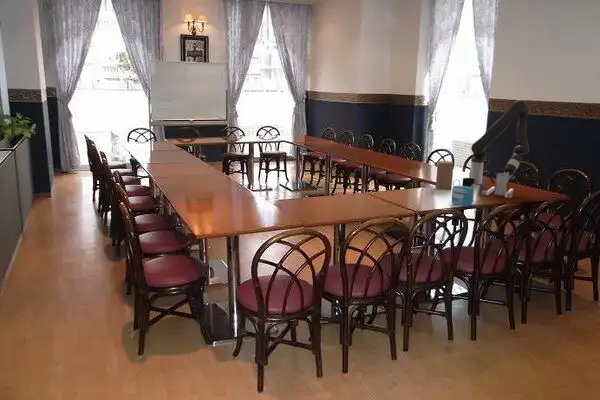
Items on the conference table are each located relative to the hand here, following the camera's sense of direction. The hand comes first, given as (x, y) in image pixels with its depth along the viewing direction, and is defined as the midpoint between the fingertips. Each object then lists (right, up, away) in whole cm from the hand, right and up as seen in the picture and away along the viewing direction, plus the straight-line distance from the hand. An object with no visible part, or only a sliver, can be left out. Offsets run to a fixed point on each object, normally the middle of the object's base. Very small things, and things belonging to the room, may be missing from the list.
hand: (500, 185), depth 352 cm
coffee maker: (-2, -7, -2) cm, 7 cm away
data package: (-40, -14, -35) cm, 55 cm away
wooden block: (-36, -2, +17) cm, 40 cm away
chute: (-1, -6, +1) cm, 6 cm away
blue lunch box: (-35, -11, -22) cm, 42 cm away
